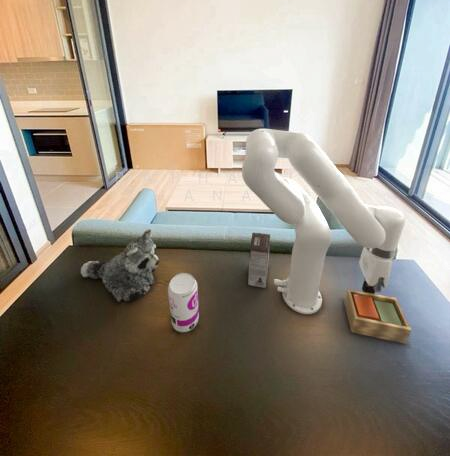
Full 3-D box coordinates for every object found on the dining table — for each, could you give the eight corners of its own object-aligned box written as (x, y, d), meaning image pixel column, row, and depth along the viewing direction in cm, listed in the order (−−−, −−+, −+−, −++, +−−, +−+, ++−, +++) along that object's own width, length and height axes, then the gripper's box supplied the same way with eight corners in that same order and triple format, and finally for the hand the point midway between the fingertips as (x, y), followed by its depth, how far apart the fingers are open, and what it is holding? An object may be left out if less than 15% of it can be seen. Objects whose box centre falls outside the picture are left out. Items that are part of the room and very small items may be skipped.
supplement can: (203, 313, 76) (202, 277, 70) (189, 338, 69) (186, 300, 63) (181, 303, 79) (178, 267, 74) (165, 326, 72) (161, 289, 67)
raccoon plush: (158, 305, 78) (152, 253, 71) (62, 302, 79) (45, 251, 71) (169, 267, 93) (165, 221, 85) (87, 266, 93) (76, 219, 86)
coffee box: (250, 265, 94) (252, 231, 88) (267, 268, 93) (270, 233, 87) (247, 285, 85) (249, 249, 80) (266, 288, 84) (269, 251, 78)
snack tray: (351, 332, 71) (355, 318, 69) (344, 301, 80) (347, 288, 78) (406, 343, 68) (411, 330, 66) (391, 310, 77) (396, 297, 75)
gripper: (359, 229, 80) (349, 272, 86) (375, 264, 66) (362, 311, 73) (384, 232, 78) (372, 275, 85) (406, 268, 65) (390, 316, 71)
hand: (367, 292), depth 79 cm, fingers closed
